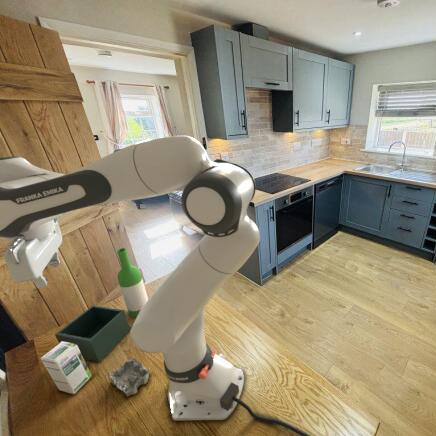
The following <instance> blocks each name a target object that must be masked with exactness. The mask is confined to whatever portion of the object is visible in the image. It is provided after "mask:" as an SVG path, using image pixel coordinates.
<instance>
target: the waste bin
mask: <svg viewBox="0 0 436 436" xmlns="http://www.w3.org/2000/svg"><path fill="white" fill-rule="evenodd" d="M130 331H131V326H130V323H129V320H128V317H127V313H126V311H125V310H124V309H119V308H113V307H107V306H102V305H95V304H93V305H91V306H90V307H89V308H87V309H86V310H84V312H82V313H81V314H79V315H78V316H77V317H76V318H75V319H73V320H72V321H71V322H69V323H68V324H66V325H65V326H64V327H63V328H61V329H60V330H59V331H57V332H56V333H55V334H54V336H55V338H56V340H57V342H58V344H59V343H60V342H61V341H63V342H69V343H72V344H76V345H77V346H78V348H79V350H80V352H81V354H82V356H83V358H84V360H88V361H93V362H97V363H100V362H101V361H102V360H103V359H104V358H105V357H106V355H108V354H109V353H110V352H111V350H113V348H114V347H115V346H117V344H118V343H119V342H120V341H121V340H122V339H123V338H124V337H125V336H126V335H127V334H128V333H130Z"/></svg>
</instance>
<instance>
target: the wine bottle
mask: <svg viewBox="0 0 436 436" xmlns="http://www.w3.org/2000/svg"><path fill="white" fill-rule="evenodd" d="M116 252H117V256H118V260H119V263H120V266H121V268H120V270H119V271H118V273H117V282H118V284H119V289H120V292H121V294H122V297H123V300H124V303H125V306H126V309H127V312H128V314H129V315H130V317H137V316H138V314H139V312H140V310H141V309H142V307H143V306H144V305H145V304H146V302H147V301H148V300H149V298H148V297H149V296H148V294H147V291H146V288H145V287H146V286H145V283H144V280H143V276H142V272H141V270H140V269H139V268H138V267H137V266H136V265H132V263H131V260H130V257H129V254H128V251H127V248H125V247H122V248H119V249H117V250H116Z"/></svg>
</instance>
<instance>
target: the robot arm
mask: <svg viewBox="0 0 436 436" xmlns="http://www.w3.org/2000/svg"><path fill="white" fill-rule="evenodd" d="M256 189H257V185H256V179H255V177H254V175H253V174H252V173H251V171H250V170H249V169H247V167H245V166H242V165H241V164H238V163H234V162H230V161H227V160H224V159H220V158H216V159H214V160H211V159H210V158H209V156H208V153H207V151H206V149H205V147H203V145H202V144H201V143H200V141H198V139H196V138H194V137H192V136H189V135H170V136H162V137H157V138H151V139H150V138H149V139H146V140H143V141H140V142H136V143H133V144H130V145H127V146H125V147H122V148H120V149H117V150H116V151H114V152H111V153H109V154H107V155H105V156H103V157H101V158H99V159H97V160H94V161H92V162H90V163H89V164H86V165H83V166H81V167H80V168H77V169H75V170H73V171H70V172H68V173H64V172H55V171H52V170H47V169H45V168H41V167H38V166H36V165H34V164H32V163H31V162H29V161H28V160H27V159H25V158H23V157H21V156H14V155H13V156H11V155H10V156H3V157H0V238H2V241H4V242H6V243H8V245H7V247H8V248H7V249H6V250H5V251H4V255H3V256H4V262H5V264H6V267H7V270H8V272H9V274H10V277H11V279H12V280H13V281H14V282H16V283H18V284H20V283H25V282H29V281H30V282H31V283H33V284H34V285H35V287H36V288H37V289H42V288H46V287H47V286H48V284H49V280H48V278H47V277H44V276H43V275H44V270H45V268H46V267H47V265H49V267H50V268H57V267H59V266H60V264H61V261H60V259H59V257H60V255H59V248H60V246H61V245H62V243H63V234H62V230H61V227H60V224H59V222H58V221H59V218H61V217H64V216H66V215H69V214H71V213H73V212H75V211H78V210H80V209H85V208H88V207H89V208H90V207H94V206H102V205H109V204H114V203H120V202H127V201H137V200H141V199H143V200H144V199H149V198H154V197H159V196H164V195H167V194H171V193H174V192H182V193H181V196H180V197H181V198H180V203H181V208H182V210H183V213H184V214H185V216H186V217H187V219H188V220H189V221H190V222H191V223H192V224H193V225H194V226H195V227H197V228H198V229H200V230H201V231H202V233H203V234H204V235H203V236H202V238H201V239H200V240H199V241H198V243H196V244H195V246H193V248H192V249H191V250H190V251H189V252H188V253H187V255H186V256H185V257H184V258H183V259H182V260H181V262H179V264H178V265H177V266H176V267H175V268H174V269H173V270H171V271H170V272H169V273H168V274H167V275H166V277H164V279H163V281H162V282H161V283H160V284H159V286H158V287H157V288H156V290H155V291H154V292H153V293H152V295H151V296H150V297H149V298H148V301H147V302H146V304H145V305H144V306H143V307H142V309H141V310H140V312H139V314H138V316H136V317H135V320H134V322H133V324H132V326H131V327H130V329H131V330H130V331H129V334H130V336H129V337H130V339H131V341H132V343H133V345H134V346H135V347H136V348H137V349H138V350H139V351H141V352H144V353H147V354H162V357H163V367H164V373H165V375H166V377H167V378H168V390H167V400H168V403H169V405H170V409H171V410H170V412H171V418H172V420H173V421H176V422H177V421H224V420H226V419H228V417H230V416H231V414H232V413H233V411H234V410H235V408H236V407H237V404H238V405H240V406H242V407H243V408H244V409H245V410H246V411H247V412H248V414H249V415H250V416H251V417H252V418H253V419H256V420H258V421H261V422H265V423H271V424H276V425H278V426H282V427H284V428H285V429H288V430H290V431H292V432H294V433H295V434H297V435H299V436H311V435H310V434H308V433H306V432H304V431H302V430H301V429H299V428H297V427H295V426H293V425H291V424H289V423H287V422H285V421H282V420H280V419H276V418H272V417H266V416H262V415H259V414H257V413H255V412H254V411H253V410H252V408H251V407H250V406H249V405H248V404H247V403H245V402H244V401H242V400H241V399H240V397H241V394H242V392H243V388H244V383H245V382H244V381H245V377H244V376H245V375H244V372H243V369H240V368H238V367H235V366H234V364H233V363H231V362H230V361H228V360H227V359H226V355H225V354H224V353H219V354H217V351H216V348H214V349H213V350H212V349H211V347H210V346H209V344H208V343H207V342H206V341H207V340H206V334H205V310H206V308H205V307H206V306H207V305H208V304H209V302H210V301H211V299H212V298H213V297H214V296H215V295H216V293H217V292H218V291H219V289H221V288H222V287H223V286H224V285H225V284H226V283H227V282H228V281H229V280H230V279H231V278H232V277H233V276H234V275H235V274H236V273H237V272H238V271H239V270H240V269H241V268H242V267H243V266H244V264H245V263H247V261H248V259H250V257H251V256H252V255H253V253H254V251H255V250H256V249H257V247H258V246H259V243H260V241H261V232H260V229H259V227H258V225H257V224H256V223H255V221H253V219H251V218H250V217H249V215H248V212H247V210H248V207H249V205H250V203H251V202H252V200H253V199H254V197H255V194H256Z"/></svg>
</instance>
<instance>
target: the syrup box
mask: <svg viewBox="0 0 436 436" xmlns="http://www.w3.org/2000/svg"><path fill="white" fill-rule="evenodd" d="M85 360H86V359H84V358H83V356H82V354H81V352H80V350H79V348H78V346H77V345H76V344H72V343H69V342H63V341H61V342H60V343H59V342H58V344H57V345H56V346H54V347H53V348H51V349H50V350H49V351H48V352H46V353H45V354H44V355H43V356H41V357H40V361H41V363H43V366H44V367H45V369H46V370H47V373H48V374H49V375H50V377H51V379H52V381H53V382H54V384H55V386H56V387H57V389H58V390H59V391H60V392H61V391H62V392H64V393H68V394H72V395H76V393H77V392H78V391H79V390H80V389H81V388H82V387H83V386H85V384H86V383H87V382H88V381H89V380H90V379H91V378H92V377H93V375H92V373H91V371H90V369H89V367H88V364H87V363H86V361H85Z"/></svg>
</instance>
